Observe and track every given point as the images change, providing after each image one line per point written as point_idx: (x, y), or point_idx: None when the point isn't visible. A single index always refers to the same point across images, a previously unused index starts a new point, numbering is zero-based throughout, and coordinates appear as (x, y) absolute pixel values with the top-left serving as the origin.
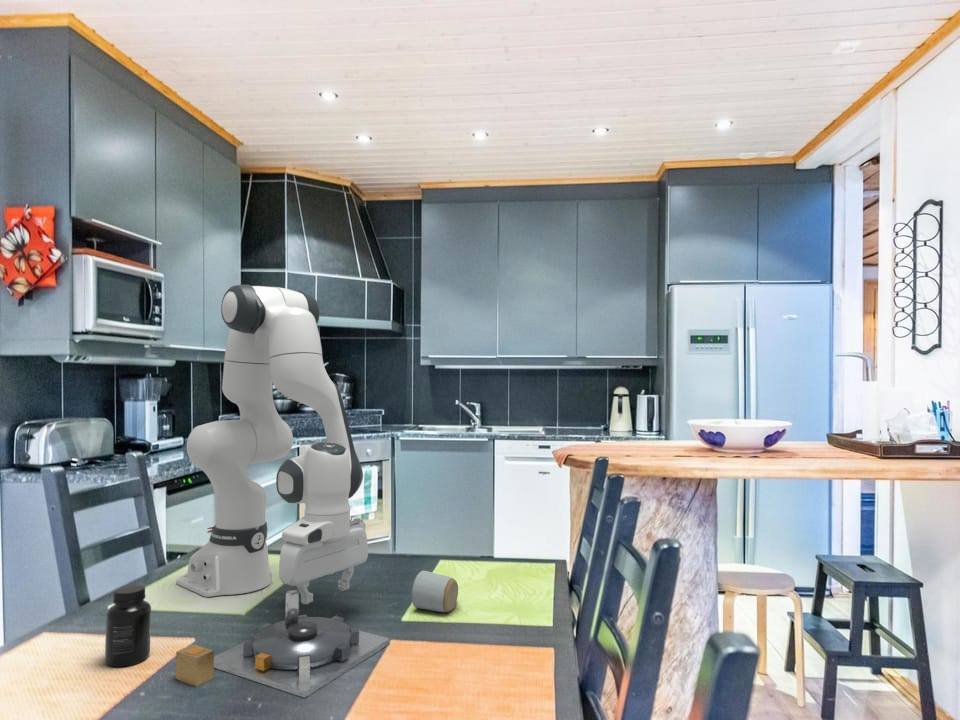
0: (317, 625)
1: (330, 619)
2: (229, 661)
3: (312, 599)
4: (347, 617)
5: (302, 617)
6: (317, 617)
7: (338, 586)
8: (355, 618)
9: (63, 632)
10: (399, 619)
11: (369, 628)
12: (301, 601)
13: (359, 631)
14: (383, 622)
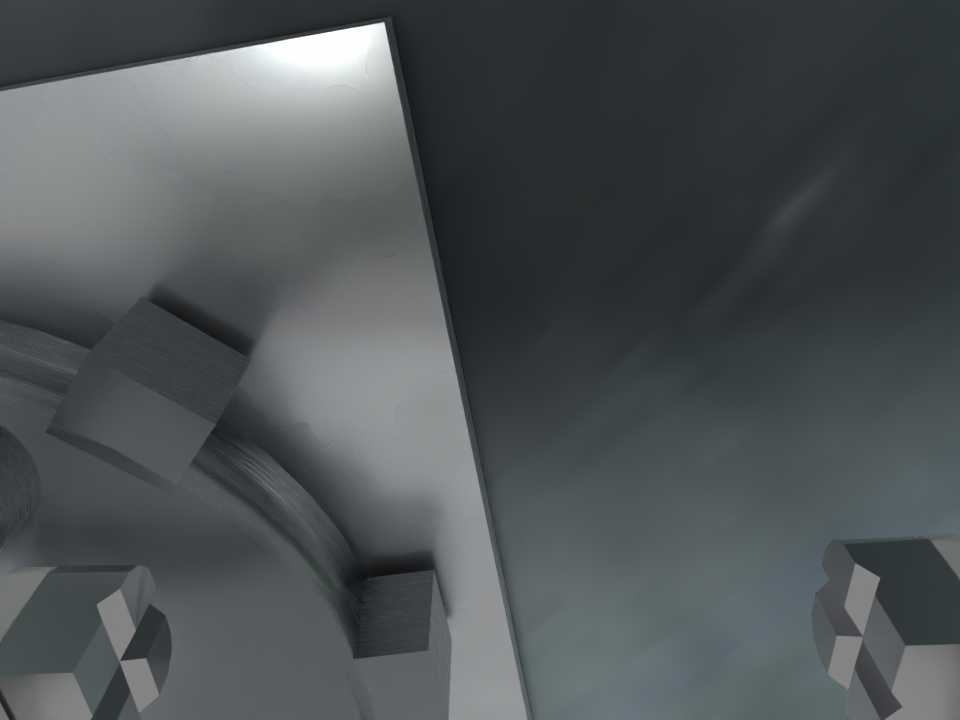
0: None
1: (332, 678)
2: None
3: (147, 696)
4: (788, 351)
5: (124, 457)
6: (262, 566)
7: (848, 572)
8: (805, 425)
9: None
10: None
11: (683, 636)
12: (10, 582)
13: (515, 717)
14: None
